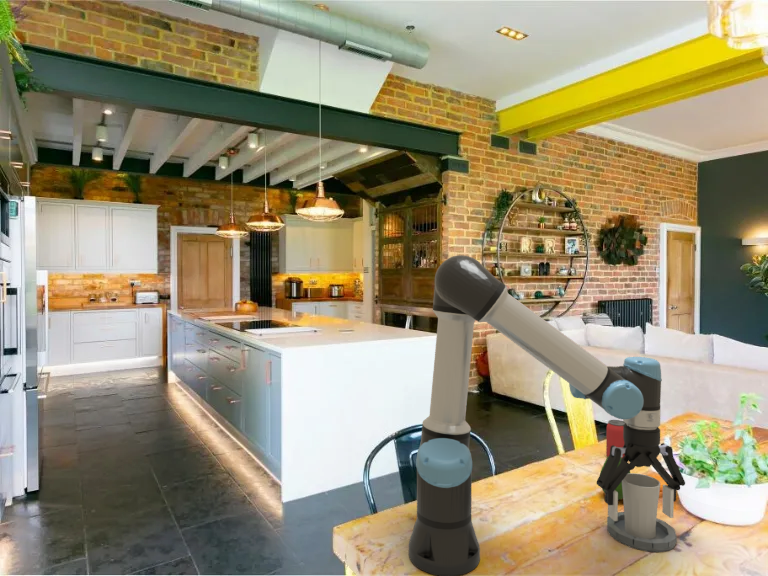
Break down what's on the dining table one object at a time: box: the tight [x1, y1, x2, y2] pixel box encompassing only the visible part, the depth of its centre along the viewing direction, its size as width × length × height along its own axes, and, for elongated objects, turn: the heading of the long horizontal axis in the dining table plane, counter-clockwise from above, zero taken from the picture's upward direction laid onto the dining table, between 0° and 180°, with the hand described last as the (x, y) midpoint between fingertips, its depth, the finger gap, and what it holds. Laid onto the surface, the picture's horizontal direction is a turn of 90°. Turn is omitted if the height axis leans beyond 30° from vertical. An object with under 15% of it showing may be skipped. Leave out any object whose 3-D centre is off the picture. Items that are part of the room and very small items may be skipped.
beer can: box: [605, 419, 625, 458], centre depth 160 cm, size 7×7×12 cm
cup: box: [622, 472, 661, 539], centre depth 113 cm, size 8×8×12 cm
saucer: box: [606, 511, 678, 553], centre depth 113 cm, size 14×14×2 cm
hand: (640, 516), depth 113 cm, fingers open, 13 cm apart
